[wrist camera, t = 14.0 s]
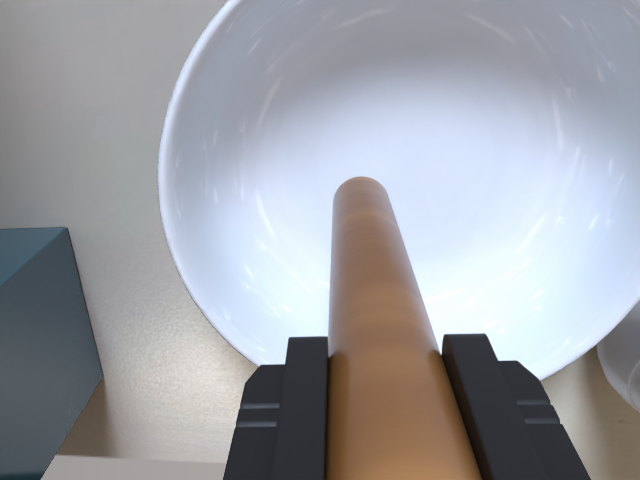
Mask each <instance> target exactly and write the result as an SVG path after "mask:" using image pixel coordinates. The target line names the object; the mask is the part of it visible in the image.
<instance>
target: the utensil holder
mask: <svg viewBox="0 0 640 480" xmlns="http://www.w3.org/2000/svg"><path fill="white" fill-rule="evenodd" d="M102 377H103V374H102V370H101V366H100V362H99V358H98V353H97V349H96V345H95V341H94V337H93V333H92V329H91V325H90V321H89V317H88V312H87V308H86V304H85V300H84V296H83V292H82V288H81V284H80V280H79V276H78V271H77V267H76V263H75V259H74V255H73V251H72V247H71V243H70V239H69V235H68V230H67V228H66V227H62V228H19V229H0V480H40V479H41V478H42V476H43V474H44V473H45V471H46V469H47V468H48V466H49V464H50V463H51V461H52V459H53V458H54V456H55V455H56V453H57V451H58V450H59V448H60V446H61V445H62V443H63V441H64V440H65V438H66V436H67V435H68V433H69V431H70V430H71V428H72V426H73V425H74V423H75V421H76V420H77V418H78V416H79V415H80V413H81V411H82V410H83V408H84V407H85V405H86V403H87V402H88V400H89V398H90V397H91V395H92V393H93V392H94V390H95V388H96V387H97V385H98V383H99V382H100V380H101V378H102Z"/></svg>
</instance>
